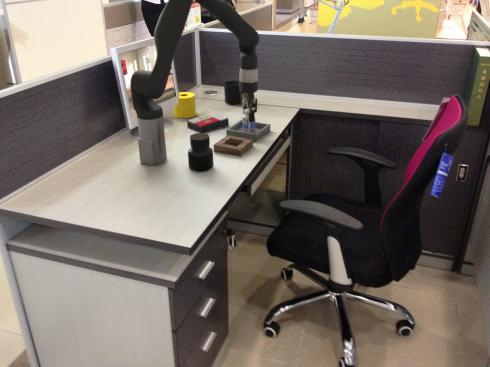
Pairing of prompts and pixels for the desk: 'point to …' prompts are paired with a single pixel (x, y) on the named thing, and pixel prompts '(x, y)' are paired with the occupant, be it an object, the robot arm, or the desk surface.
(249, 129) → the pill bottle
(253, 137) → the tray
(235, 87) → the pen holder
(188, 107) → the yellow piece
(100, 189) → the desk surface
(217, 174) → the desk surface
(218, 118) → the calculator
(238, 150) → the tray
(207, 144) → the ink bottle
